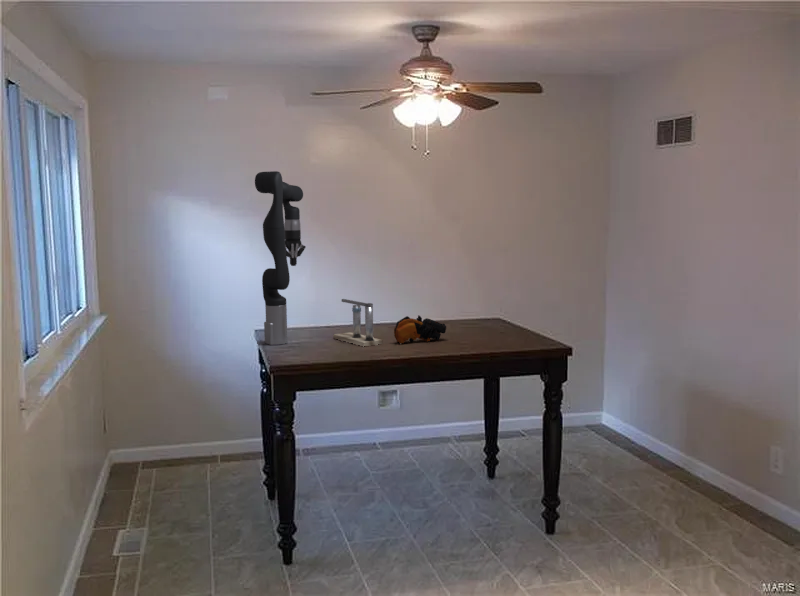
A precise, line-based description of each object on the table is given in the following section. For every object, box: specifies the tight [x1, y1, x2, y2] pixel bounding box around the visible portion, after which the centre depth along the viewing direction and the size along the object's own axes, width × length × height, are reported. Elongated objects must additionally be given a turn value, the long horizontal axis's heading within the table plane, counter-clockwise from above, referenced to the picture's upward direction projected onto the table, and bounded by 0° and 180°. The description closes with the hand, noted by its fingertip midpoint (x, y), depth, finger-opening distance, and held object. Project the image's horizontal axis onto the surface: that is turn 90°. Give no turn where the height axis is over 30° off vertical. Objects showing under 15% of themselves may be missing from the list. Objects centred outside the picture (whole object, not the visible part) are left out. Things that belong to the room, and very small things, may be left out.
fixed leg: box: [341, 298, 374, 341], centre depth 341 cm, size 3×23×16 cm, turn 36°
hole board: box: [333, 331, 384, 348], centre depth 342 cm, size 10×25×2 cm, turn 36°
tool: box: [393, 315, 447, 344], centre depth 340 cm, size 8×23×15 cm, turn 110°
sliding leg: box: [351, 304, 362, 337], centre depth 341 cm, size 4×4×14 cm
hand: (293, 265), depth 364 cm, fingers closed
